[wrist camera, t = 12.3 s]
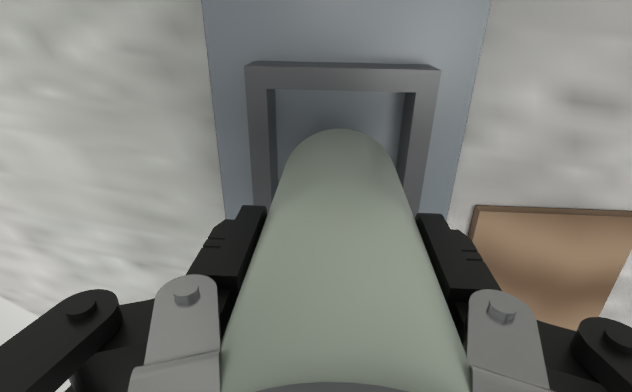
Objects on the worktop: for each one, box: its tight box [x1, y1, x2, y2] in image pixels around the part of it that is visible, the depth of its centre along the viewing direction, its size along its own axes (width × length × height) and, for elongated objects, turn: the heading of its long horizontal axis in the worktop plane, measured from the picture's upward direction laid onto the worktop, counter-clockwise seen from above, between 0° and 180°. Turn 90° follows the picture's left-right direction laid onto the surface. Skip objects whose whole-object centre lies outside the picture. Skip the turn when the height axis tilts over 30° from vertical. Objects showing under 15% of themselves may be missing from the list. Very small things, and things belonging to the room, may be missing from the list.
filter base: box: [201, 0, 491, 220], centre depth 17 cm, size 25×14×5 cm, turn 179°
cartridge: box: [220, 129, 471, 392], centre depth 10 cm, size 5×5×12 cm
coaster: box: [468, 205, 632, 331], centre depth 24 cm, size 10×10×1 cm
